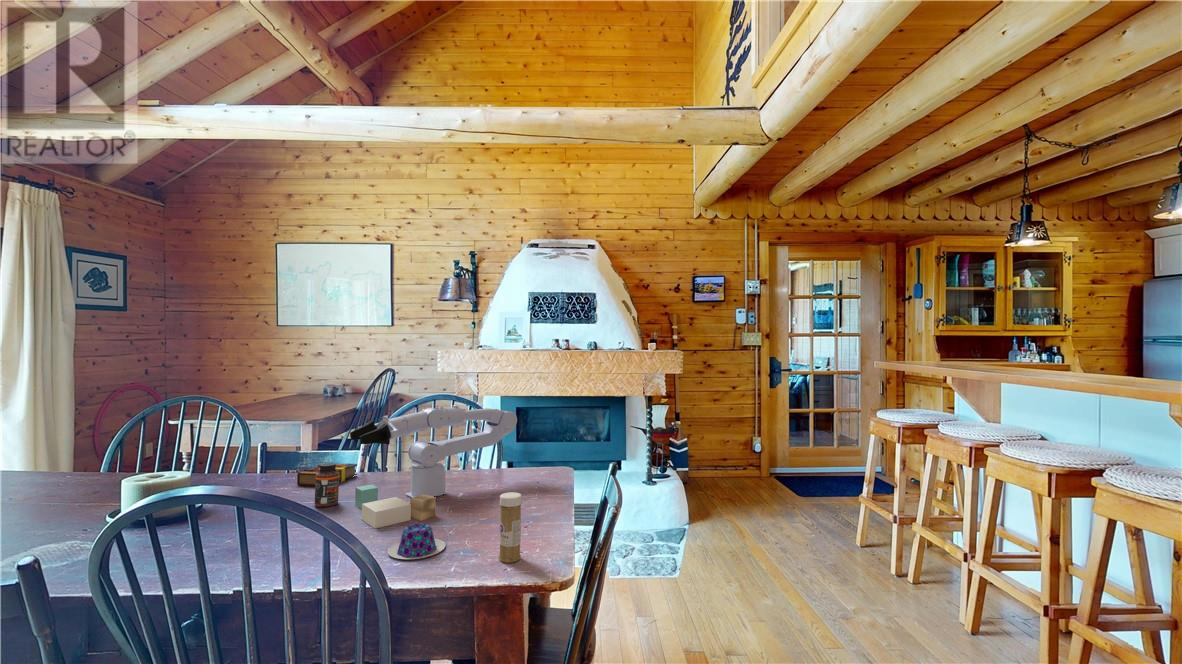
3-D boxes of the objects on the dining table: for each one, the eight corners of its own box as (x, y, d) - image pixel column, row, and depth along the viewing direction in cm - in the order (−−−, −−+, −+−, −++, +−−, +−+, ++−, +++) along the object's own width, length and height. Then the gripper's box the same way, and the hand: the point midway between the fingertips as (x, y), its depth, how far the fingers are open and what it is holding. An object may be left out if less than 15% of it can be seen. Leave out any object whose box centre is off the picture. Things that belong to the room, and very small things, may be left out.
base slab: (395, 511, 137) (396, 496, 137) (410, 520, 131) (410, 504, 131) (361, 519, 131) (361, 503, 131) (375, 528, 124) (375, 512, 124)
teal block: (371, 502, 146) (371, 484, 146) (377, 505, 143) (378, 487, 143) (355, 505, 143) (355, 487, 143) (361, 508, 140) (361, 490, 140)
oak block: (423, 513, 136) (423, 494, 137) (435, 516, 134) (435, 496, 134) (409, 517, 133) (410, 498, 133) (421, 521, 130) (422, 501, 130)
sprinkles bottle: (494, 559, 107) (495, 494, 107) (511, 553, 110) (511, 490, 110) (508, 565, 104) (509, 499, 104) (525, 558, 107) (526, 494, 108)
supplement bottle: (328, 508, 140) (329, 467, 140) (309, 507, 141) (310, 465, 141) (343, 502, 145) (344, 462, 146) (324, 500, 147) (325, 461, 147)
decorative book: (295, 486, 162) (296, 471, 162) (329, 474, 178) (330, 460, 178) (327, 488, 160) (328, 472, 160) (359, 476, 176) (359, 461, 176)
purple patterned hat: (388, 566, 104) (388, 540, 104) (386, 545, 115) (387, 522, 115) (448, 557, 108) (449, 532, 108) (441, 538, 119) (442, 515, 119)
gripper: (391, 409, 154) (344, 420, 144) (412, 415, 143) (362, 427, 134) (394, 432, 154) (348, 444, 145) (415, 439, 144) (366, 453, 135)
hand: (355, 438), depth 140 cm, fingers open, 7 cm apart
